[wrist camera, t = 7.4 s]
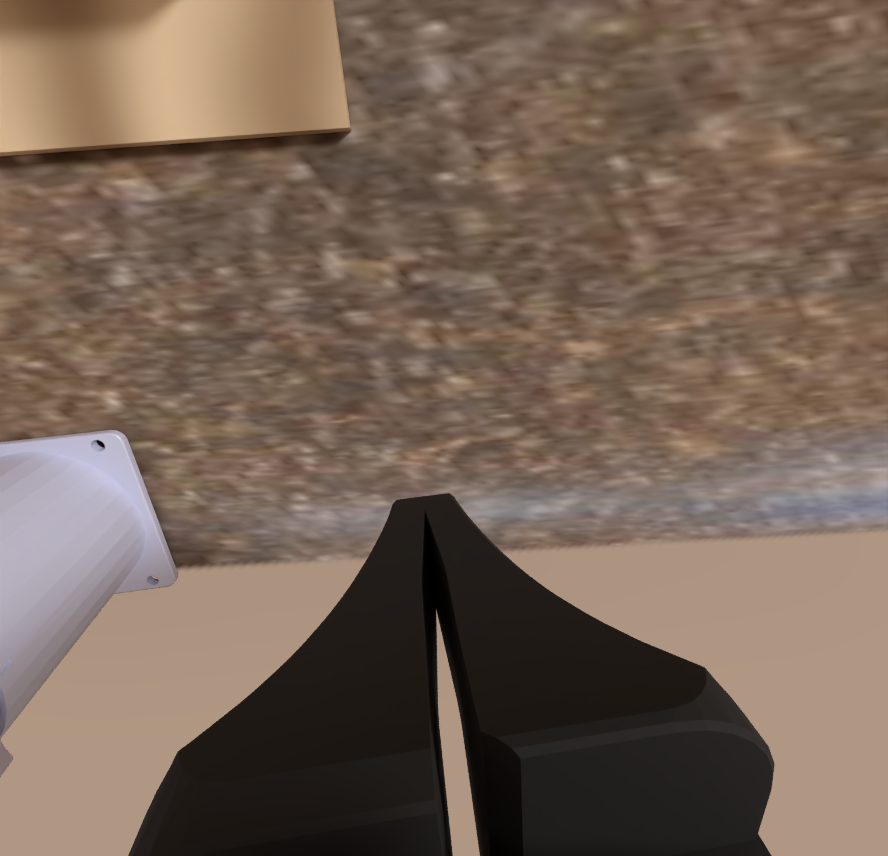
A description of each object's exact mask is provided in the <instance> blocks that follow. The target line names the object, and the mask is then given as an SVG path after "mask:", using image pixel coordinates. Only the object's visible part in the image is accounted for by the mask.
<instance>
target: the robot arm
mask: <svg viewBox="0 0 888 856" xmlns="http://www.w3.org/2000/svg"><path fill="white" fill-rule="evenodd" d="M97 440H100V441H101V442H103V443H104V445H105V448H104V447H101V446H99V445H98V444H97ZM152 576H155V577H157V578H158V579H154V578H152ZM177 577H178V572H177V570H176V567H175V564H174V562H173V559H172V556H171V554H170V551H169V548H168V546H167V543H166V540H165V538H164V535H163V532H162V530H161V527H160V524H159V522H158V519H157V516H156V514H155V511H154V509H153V506H152V503H151V501H150V498H149V495H148V493H147V490H146V487H145V485H144V482H143V479H142V477H141V474H140V471H139V469H138V466H137V463H136V461H135V458H134V455H133V453H132V450H131V448H130V445H129V442H128V440H127V438H126V436H125V435H124V434H122V433H121V432H119V431H116V430H107V431H98V432H89V433H80V434H71V435H62V436H53V437H44V438H35V439H26V440H17V441H8V442H0V739H1V737H2V736H3V735H4V733H5V732H6V731H7V730H8V728H9V727H10V725H11V724H12V723H13V722H14V721H15V719H16V718H17V717H18V715H19V714H20V713H21V712H22V710H23V709H24V708H25V706H26V705H27V704H28V703H29V701H30V700H31V699H32V698H33V696H34V695H35V694H36V692H37V691H38V690H39V689H40V687H41V686H42V685H43V683H44V682H45V681H46V680H47V678H48V677H49V676H50V674H51V673H52V672H53V671H54V669H55V668H56V667H57V666H58V664H59V663H60V662H61V660H62V659H63V658H64V657H65V655H66V654H67V653H68V651H69V650H70V649H71V648H72V646H73V645H74V644H75V642H76V641H77V640H78V639H79V637H80V636H81V635H82V634H83V632H84V631H85V630H86V628H87V627H88V626H89V625H90V623H91V622H92V621H93V620H94V618H95V617H96V616H97V614H98V613H99V612H100V611H101V609H102V608H103V607H104V605H105V604H106V603H107V602H108V600H109V599H110V598H111V596H112V595H113V594H115V593H124V592H131V591H138V590H146V589H153V588H160V587H167V586H171V585H172V584H174V582H175V581H176V579H177ZM436 610H437V614H438V619H439V623H440V627H441V632H442V636H443V640H444V645H445V649H446V653H447V657H448V662H449V666H450V670H451V675H452V679H453V684H454V688H455V692H456V697H457V702H458V707H459V712H460V717H461V723H462V730H463V737H464V744H465V751H466V758H467V766H468V773H469V779H470V787H471V794H472V801H473V809H474V815H475V823H476V830H477V837H478V844H479V852H480V856H771V854H770V853H769V851H768V850H767V848H766V846H765V844H764V843H763V841H762V840H761V838H760V837H759V835H758V831H759V828H760V825H761V821H762V818H763V815H764V812H765V808H766V805H767V801H768V799H769V795H770V792H771V787H772V780H773V772H774V761H773V758H772V755H771V752H770V750H769V747H768V745H767V744H766V743H765V741H764V740H763V739H762V737H761V736H760V735H759V733H758V732H757V730H756V729H755V728H754V726H753V725H752V724H751V723H750V721H749V720H748V718H747V717H746V716H745V714H744V713H743V712H742V710H740V708H739V707H738V706H737V704H736V703H735V702H734V701H733V699H732V698H731V697H730V696H729V695H728V693H726V691H725V690H724V689H723V688H722V687H721V686H720V685H719V684H718V682H717V681H716V680H715V679H714V678H713V677H712V676H711V674H710V673H709V672H708V671H707V670H706V668H704V667H702V666H700V665H698V664H695V663H693V662H690V661H688V660H685V659H683V658H680V657H678V656H676V655H673V654H671V653H668V652H666V651H663V650H661V649H658V648H656V647H653V646H651V645H649V644H646V643H644V642H641V641H640V640H637V639H635V638H633V637H631V636H629V635H627V634H625V633H623V632H621V631H619V630H617V629H615V628H613V627H611V626H609V625H607V624H605V623H603V622H601V621H599V620H597V619H596V618H594V617H592V616H590V615H588V614H586V613H585V612H583V611H581V610H580V609H578V608H576V607H575V606H573V605H572V604H570V603H568V602H567V601H565V600H563V599H562V598H560V597H558V596H557V595H555V594H554V593H552V592H551V591H549V590H548V589H546V588H545V587H544V586H542V585H541V584H539V583H538V582H537V581H535V580H534V579H533V578H532V577H530V576H529V575H528V574H526V573H525V572H524V571H523V570H522V569H520V568H519V567H518V566H516V564H514V563H513V562H512V561H511V560H510V559H509V558H508V557H507V556H506V555H504V554H503V553H502V552H501V551H500V550H499V549H498V548H497V547H496V546H495V545H494V544H493V543H492V542H491V541H490V540H489V539H488V538H487V537H486V536H485V535H484V534H483V533H482V532H481V530H480V529H479V528H478V527H477V526H476V525H475V524H474V523H473V522H472V520H471V519H470V518H469V517H468V515H467V514H466V513H465V512H464V510H463V509H462V508H461V506H460V505H459V504H458V502H457V501H456V499H455V497H454V496H452V495H451V494H450V493H447V494H439V495H431V496H423V497H415V498H407V499H400V500H396V501H395V502H394V504H393V505H392V508H391V511H390V514H389V517H388V519H387V521H386V524H385V526H384V528H383V530H382V532H381V534H380V536H379V538H378V540H377V542H376V544H375V546H374V548H373V550H372V552H371V553H370V555H369V557H368V559H367V560H366V562H365V563H364V565H363V567H362V568H361V570H360V571H359V573H358V575H357V576H356V578H355V580H354V581H353V583H352V584H351V586H350V587H349V588H348V590H347V591H346V593H345V594H344V595H343V597H342V598H341V600H340V601H339V602H338V603H337V605H336V606H335V607H334V609H333V610H332V611H331V612H330V614H329V615H328V616H327V617H326V619H325V620H324V621H323V622H322V623H321V624H320V626H319V627H318V628H317V629H316V630H315V631H314V632H313V633H312V635H311V636H310V637H309V638H308V639H307V641H306V642H305V643H304V644H303V645H302V646H301V647H300V648H299V649H298V650H297V651H296V652H295V653H294V654H293V655H292V656H291V657H290V658H289V659H288V660H287V661H286V662H285V663H284V664H283V665H282V666H281V667H280V668H279V669H278V670H277V671H276V672H275V673H274V674H272V675H271V676H270V677H269V678H268V679H267V680H266V681H265V682H264V683H263V684H261V685H260V686H259V687H258V688H257V689H256V690H255V691H254V692H252V693H251V694H250V695H249V696H248V697H247V698H245V699H244V700H243V701H242V702H241V703H240V704H238V705H237V706H236V707H234V709H232V710H231V711H229V712H228V713H227V714H226V715H224V716H223V717H222V718H221V719H219V720H218V721H217V722H216V723H214V724H213V725H212V726H211V727H209V728H208V729H207V730H206V731H204V732H203V733H202V734H200V735H199V736H198V737H197V738H195V739H194V740H193V741H191V742H190V743H189V744H187V745H186V746H185V747H183V748H182V749H181V750H179V751H178V753H177V755H176V756H175V758H174V761H173V763H172V765H171V767H170V768H169V770H168V772H167V774H166V776H165V778H164V779H163V781H162V783H161V785H160V787H159V789H158V790H157V792H156V794H155V796H154V799H153V801H152V803H151V805H150V807H149V809H148V811H147V813H146V815H145V818H144V820H143V822H142V825H141V827H140V829H139V832H138V834H137V837H136V839H135V841H134V844H133V846H132V848H131V851H130V853H129V856H453V855H452V845H451V835H450V826H449V816H448V807H447V798H446V788H445V778H444V768H443V759H442V749H441V739H440V730H439V716H438V692H437V690H438V688H437V632H436ZM12 760H13V757H12V755H11V754H10V753H9V752H8V751H7V750H6V749H5V747H4V746H3V744H2V742H1V740H0V777H1V775H2V774H3V773H4V771H5V770H6V768H7V767H8V766H9V764H10V763H11V761H12Z"/></svg>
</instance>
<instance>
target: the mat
mask: <svg viewBox="0 0 888 856" xmlns="http://www.w3.org/2000/svg"><path fill="white" fill-rule="evenodd" d="M347 131H351V127H350V120H349V112H348V105H347V97H346V90H345V83H344V75H343V68H342V61H341V53H340V46H339V38H338V31H337V24H336V16H335V9H334V2H333V0H0V156H13V155H27V154H41V153H55V152H69V151H83V150H96V149H110V148H124V147H138V146H152V145H166V144H180V143H194V142H208V141H222V140H236V139H250V138H264V137H278V136H292V135H306V134H319V133H333V132H347Z"/></svg>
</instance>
